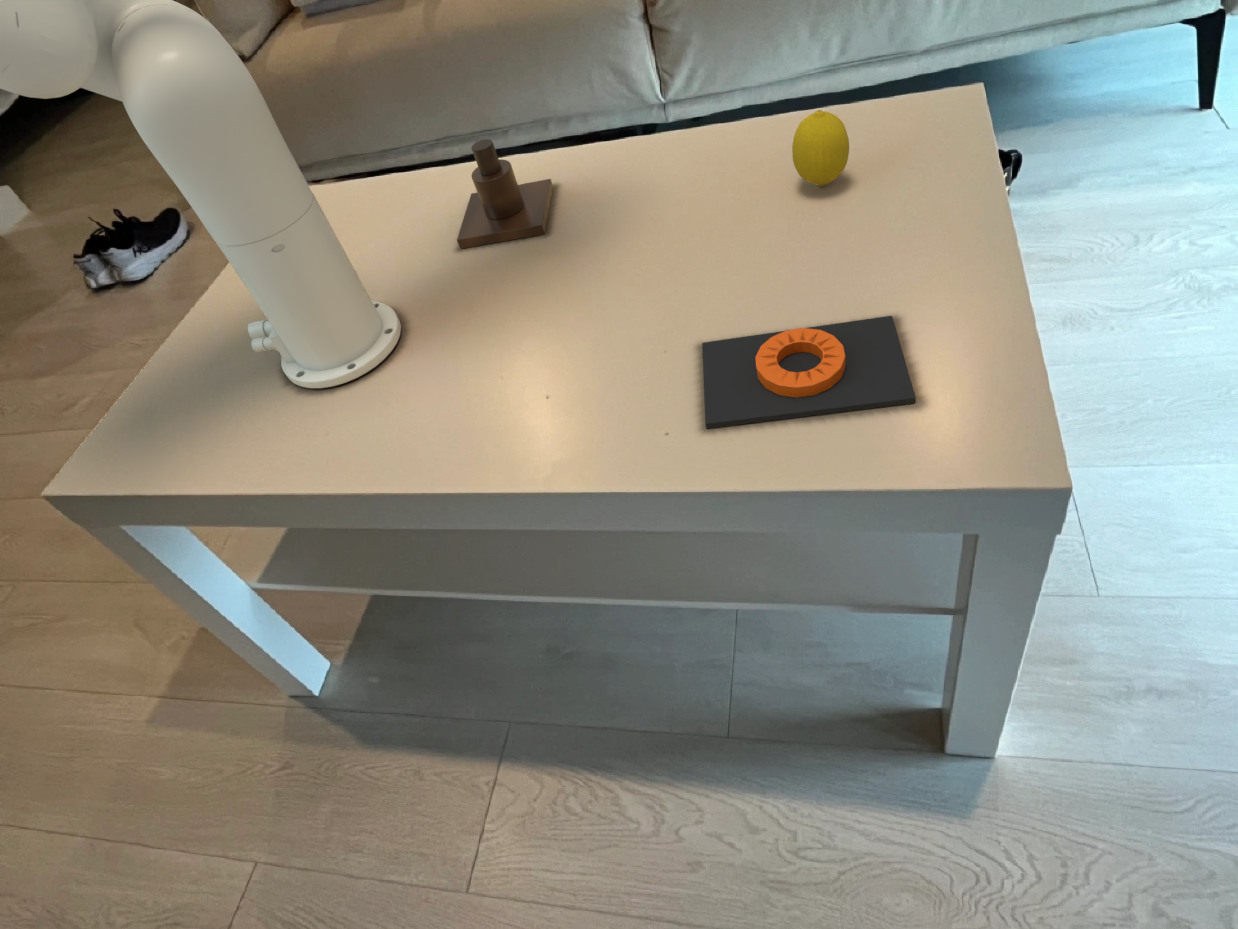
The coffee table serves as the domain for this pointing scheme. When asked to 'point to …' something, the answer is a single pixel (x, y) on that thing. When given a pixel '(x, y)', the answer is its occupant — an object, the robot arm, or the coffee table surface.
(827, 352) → the orange flat ring
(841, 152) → the lemon
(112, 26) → the robot arm
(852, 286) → the coffee table surface
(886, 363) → the mat
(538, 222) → the brown stepped peg stand
